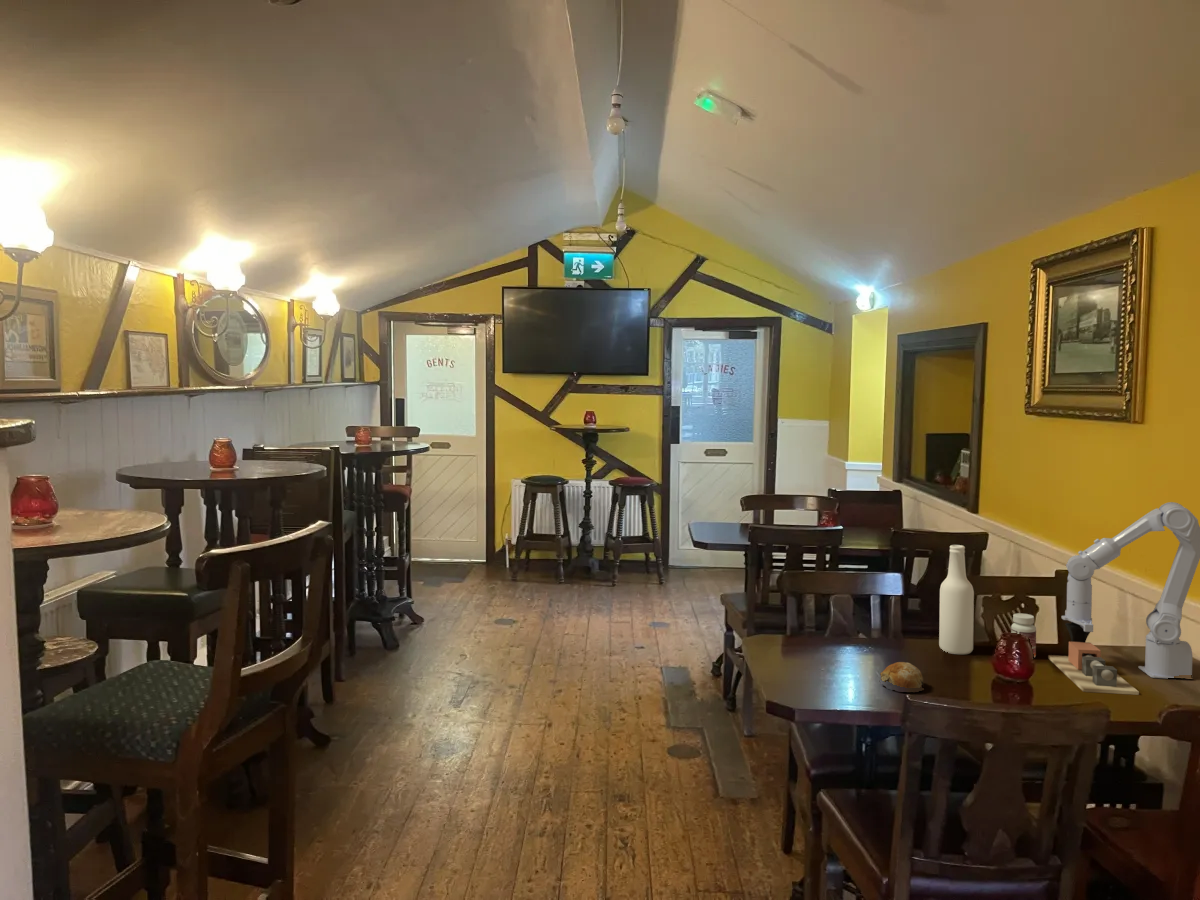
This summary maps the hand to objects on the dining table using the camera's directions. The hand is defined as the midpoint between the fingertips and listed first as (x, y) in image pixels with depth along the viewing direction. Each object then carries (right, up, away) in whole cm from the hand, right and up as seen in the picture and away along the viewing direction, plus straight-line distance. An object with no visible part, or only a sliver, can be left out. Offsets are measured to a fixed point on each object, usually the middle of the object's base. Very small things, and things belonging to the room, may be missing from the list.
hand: (1078, 650), depth 214 cm
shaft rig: (-2, -4, -8) cm, 10 cm away
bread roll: (-53, -6, -15) cm, 55 cm away
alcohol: (-27, -3, +14) cm, 30 cm away
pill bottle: (-11, -4, +8) cm, 14 cm away
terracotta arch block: (-1, -3, -4) cm, 5 cm away
